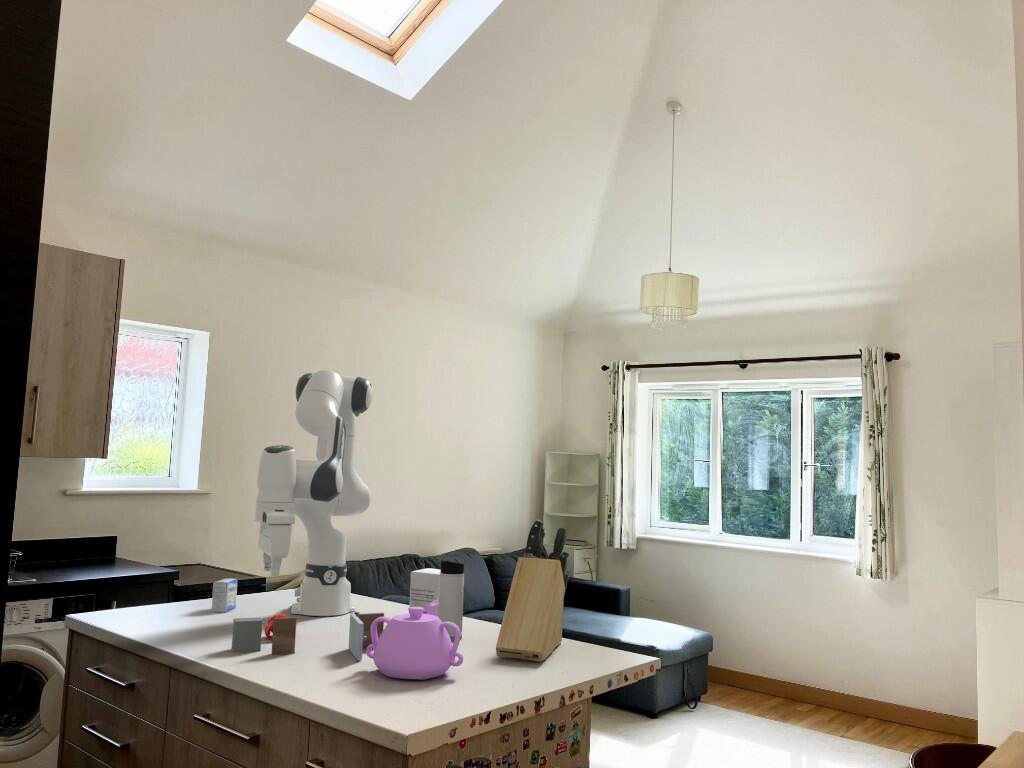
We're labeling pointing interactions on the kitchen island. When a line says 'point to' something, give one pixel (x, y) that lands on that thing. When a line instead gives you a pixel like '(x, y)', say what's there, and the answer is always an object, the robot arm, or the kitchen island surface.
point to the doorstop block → (246, 634)
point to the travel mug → (451, 595)
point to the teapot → (414, 645)
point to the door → (356, 636)
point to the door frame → (287, 632)
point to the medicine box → (224, 595)
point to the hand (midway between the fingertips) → (270, 573)
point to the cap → (270, 625)
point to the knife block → (535, 600)
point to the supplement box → (425, 588)
